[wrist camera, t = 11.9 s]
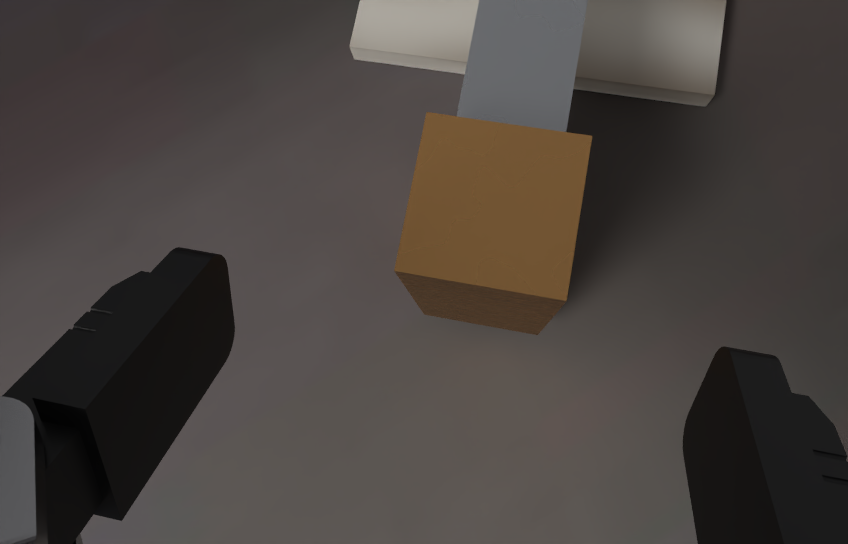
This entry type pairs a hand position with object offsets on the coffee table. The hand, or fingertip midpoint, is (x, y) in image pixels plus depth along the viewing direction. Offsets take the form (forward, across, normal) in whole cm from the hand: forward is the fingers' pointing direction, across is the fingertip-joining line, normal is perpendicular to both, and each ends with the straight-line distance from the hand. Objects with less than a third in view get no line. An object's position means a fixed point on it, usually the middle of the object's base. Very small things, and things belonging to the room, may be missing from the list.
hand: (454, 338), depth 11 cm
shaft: (+18, 0, -1) cm, 18 cm away
